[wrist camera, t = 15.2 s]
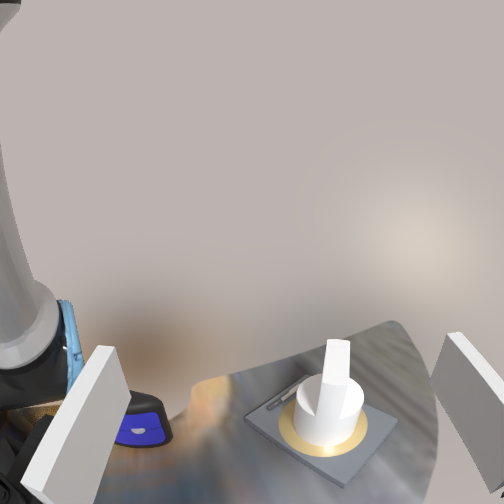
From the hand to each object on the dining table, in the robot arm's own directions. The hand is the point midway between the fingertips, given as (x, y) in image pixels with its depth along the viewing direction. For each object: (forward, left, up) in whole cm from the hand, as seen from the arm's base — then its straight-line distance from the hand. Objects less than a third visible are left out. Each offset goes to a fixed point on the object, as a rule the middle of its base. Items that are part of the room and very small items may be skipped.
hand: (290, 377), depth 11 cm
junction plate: (-9, +20, -29) cm, 36 cm away
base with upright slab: (-9, +20, -28) cm, 35 cm away
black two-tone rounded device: (-28, -3, -29) cm, 41 cm away
